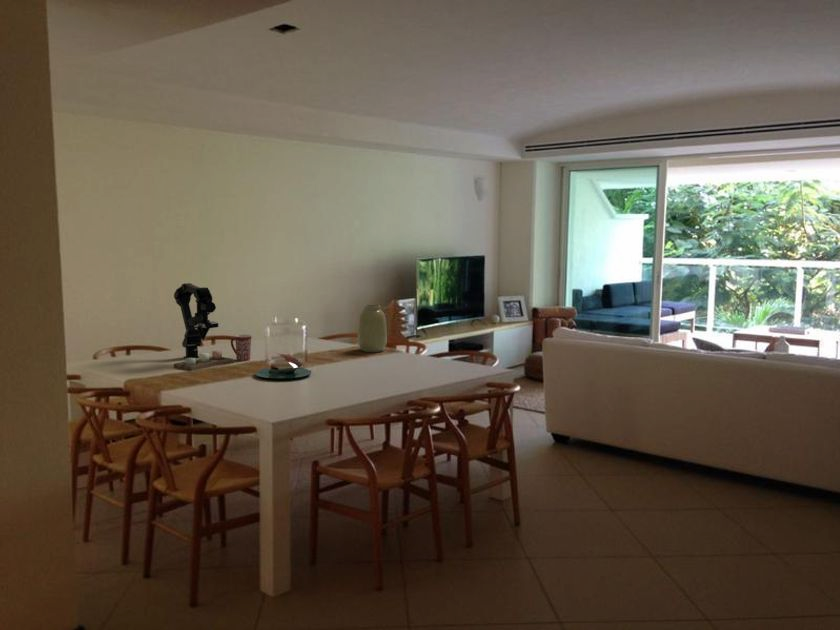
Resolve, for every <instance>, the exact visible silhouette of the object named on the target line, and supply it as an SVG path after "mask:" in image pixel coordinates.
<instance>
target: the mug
mask: <svg viewBox="0 0 840 630" xmlns="http://www.w3.org/2000/svg"><path fill="white" fill-rule="evenodd" d="M234 340H235V346H234ZM251 345H252V335H251V334H237V335H234V337H232V338H231V340H230V347H231V349H232V350H233V352H234V354H235V356H236V357H235V358H236V361H238V362H239V361H240V362H248V361H251V349H252V348H251V347H252V346H251Z"/></svg>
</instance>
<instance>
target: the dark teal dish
mask: <svg viewBox="0 0 840 630" xmlns="http://www.w3.org/2000/svg"><path fill="white" fill-rule="evenodd" d="M278 355H279V356H280V357H282V358H283V359H285V361H287V363H289V364H290V365H291V367H288V366H287V367H286V366H285V367H284V366H278V365H277V366H276V365H273V364H270V367H267V368H261V369H259V370H257V371H255V372H254V376H257V377H261V378H267V379H293V378H301V377H305V376H309V375H310V374H312V370H310V369H308V368H305V366H304V364H303V362H301V361H299V360H298V359H297V358H296V357H292V356H290V355H288V354H282V353H278Z"/></svg>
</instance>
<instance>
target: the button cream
mask: <svg viewBox="0 0 840 630" xmlns="http://www.w3.org/2000/svg"><path fill="white" fill-rule="evenodd" d="M198 356H199V357H198V359H199V362H208V361H209V357H210V353H209V352H202V353H198Z"/></svg>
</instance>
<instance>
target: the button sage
mask: <svg viewBox="0 0 840 630" xmlns="http://www.w3.org/2000/svg"><path fill="white" fill-rule="evenodd" d="M196 359H197V358H185V361H184V362H186V365H194V364H196Z"/></svg>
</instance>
